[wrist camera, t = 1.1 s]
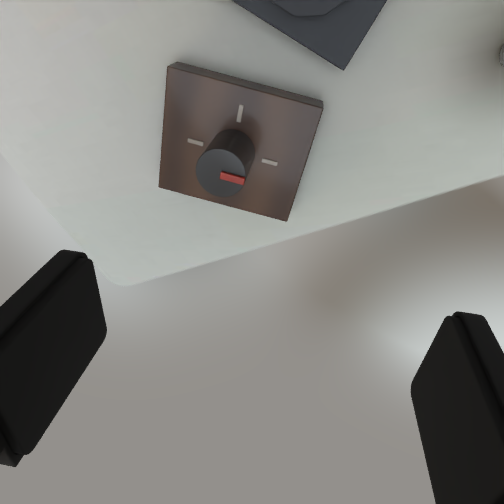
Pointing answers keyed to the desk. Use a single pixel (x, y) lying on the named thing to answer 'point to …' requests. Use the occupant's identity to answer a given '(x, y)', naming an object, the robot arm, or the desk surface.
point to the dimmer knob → (225, 163)
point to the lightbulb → (502, 56)
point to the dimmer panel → (242, 119)
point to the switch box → (320, 23)
